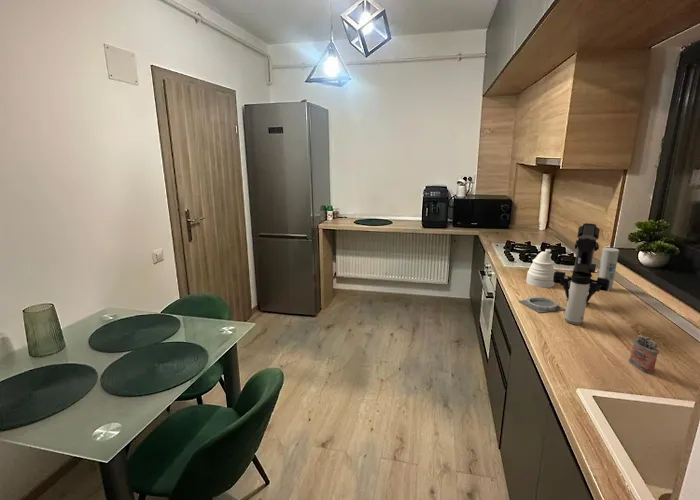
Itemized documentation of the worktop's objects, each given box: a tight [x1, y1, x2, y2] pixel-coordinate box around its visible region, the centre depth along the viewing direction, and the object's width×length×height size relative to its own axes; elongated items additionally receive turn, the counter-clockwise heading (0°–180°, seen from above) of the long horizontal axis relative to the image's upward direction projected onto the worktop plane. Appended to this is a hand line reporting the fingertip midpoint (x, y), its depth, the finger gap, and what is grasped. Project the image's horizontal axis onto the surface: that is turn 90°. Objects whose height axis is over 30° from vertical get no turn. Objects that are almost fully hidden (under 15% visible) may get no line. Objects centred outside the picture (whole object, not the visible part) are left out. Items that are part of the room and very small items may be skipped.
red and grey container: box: [628, 334, 660, 375], centre depth 117 cm, size 8×3×10 cm, turn 5°
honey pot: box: [526, 248, 556, 289], centre depth 191 cm, size 13×13×18 cm
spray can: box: [597, 247, 620, 291], centre depth 182 cm, size 6×6×20 cm
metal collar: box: [525, 296, 559, 311], centre depth 165 cm, size 12×12×1 cm
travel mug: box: [564, 273, 593, 325], centre depth 147 cm, size 6×7×20 cm
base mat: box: [518, 299, 566, 314], centre depth 166 cm, size 13×13×1 cm
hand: (577, 299), depth 146 cm, fingers closed on travel mug, 6 cm apart
